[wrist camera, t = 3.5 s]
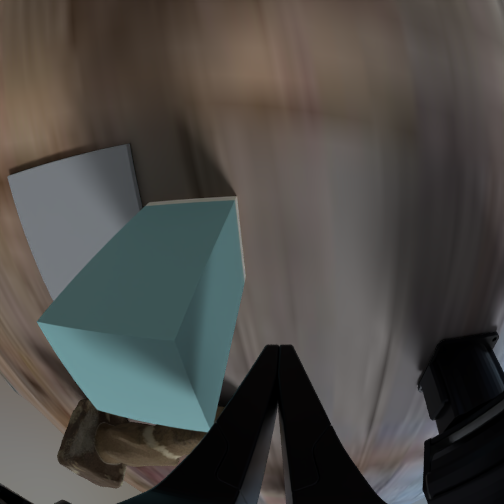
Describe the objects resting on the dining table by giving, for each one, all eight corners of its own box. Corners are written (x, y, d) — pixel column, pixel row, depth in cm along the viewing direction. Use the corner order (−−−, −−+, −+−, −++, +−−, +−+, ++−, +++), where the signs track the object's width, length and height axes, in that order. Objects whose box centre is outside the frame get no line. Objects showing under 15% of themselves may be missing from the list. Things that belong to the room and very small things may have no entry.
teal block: (236, 195, 15) (174, 340, 7) (245, 276, 18) (211, 432, 9) (149, 202, 16) (36, 321, 8) (167, 276, 19) (97, 409, 10)
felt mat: (129, 143, 14) (126, 144, 14) (172, 318, 20) (170, 322, 20) (11, 174, 16) (7, 176, 16) (60, 308, 22) (58, 310, 21)
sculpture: (214, 359, 37) (272, 436, 24) (95, 441, 32) (111, 527, 19) (182, 320, 34) (233, 401, 21) (56, 413, 28) (57, 505, 16)
